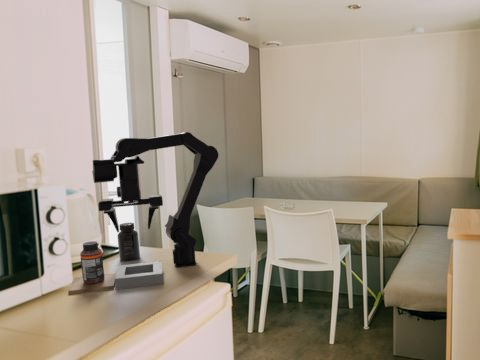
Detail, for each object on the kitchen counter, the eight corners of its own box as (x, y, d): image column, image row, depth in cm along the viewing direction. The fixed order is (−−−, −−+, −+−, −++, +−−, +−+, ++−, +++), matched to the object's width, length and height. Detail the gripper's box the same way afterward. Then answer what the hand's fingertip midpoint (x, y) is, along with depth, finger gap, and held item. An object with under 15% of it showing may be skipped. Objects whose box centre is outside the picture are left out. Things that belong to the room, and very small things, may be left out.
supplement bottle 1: (88, 278, 140) (85, 240, 138) (108, 277, 139) (104, 239, 137) (79, 284, 134) (75, 245, 132) (99, 284, 133) (95, 245, 132)
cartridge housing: (162, 270, 146) (161, 261, 146) (163, 283, 133) (162, 273, 133) (118, 275, 144) (117, 265, 143) (115, 289, 131) (114, 278, 131)
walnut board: (116, 276, 143) (116, 272, 143) (113, 289, 132) (113, 285, 131) (75, 280, 141) (75, 277, 141) (68, 294, 129) (68, 290, 129)
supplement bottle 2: (143, 255, 164) (140, 221, 163) (133, 261, 158) (130, 226, 157) (126, 255, 167) (123, 221, 165) (115, 260, 160) (112, 226, 159)
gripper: (160, 174, 152) (163, 222, 154) (100, 179, 149) (104, 228, 151) (160, 178, 142) (164, 229, 143) (96, 183, 138) (101, 235, 140)
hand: (133, 230), depth 145 cm, fingers open, 9 cm apart
